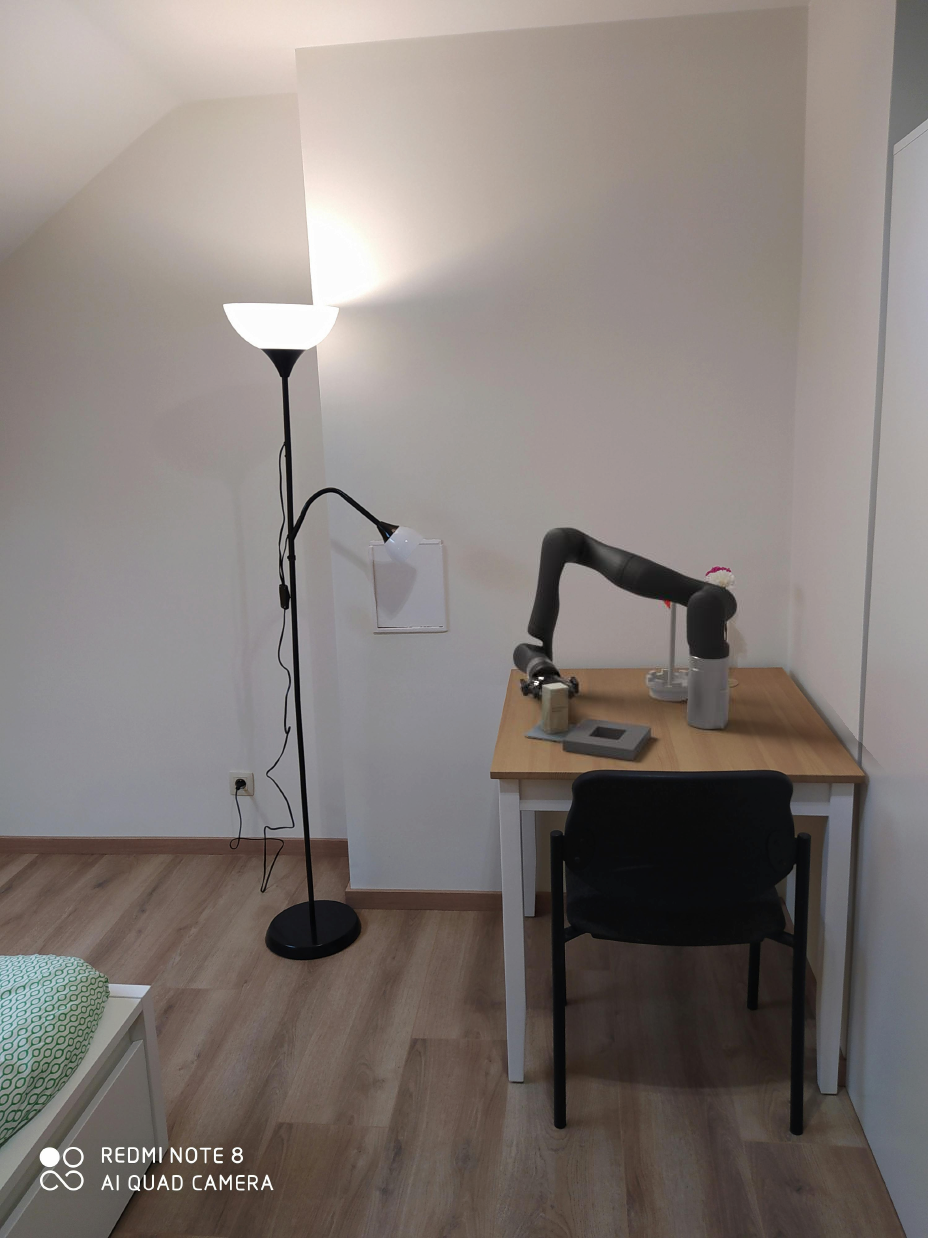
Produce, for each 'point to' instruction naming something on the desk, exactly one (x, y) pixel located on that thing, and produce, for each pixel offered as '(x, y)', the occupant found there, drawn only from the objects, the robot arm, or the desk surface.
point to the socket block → (589, 743)
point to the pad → (541, 734)
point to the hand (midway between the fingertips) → (554, 695)
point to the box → (555, 708)
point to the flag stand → (669, 671)
